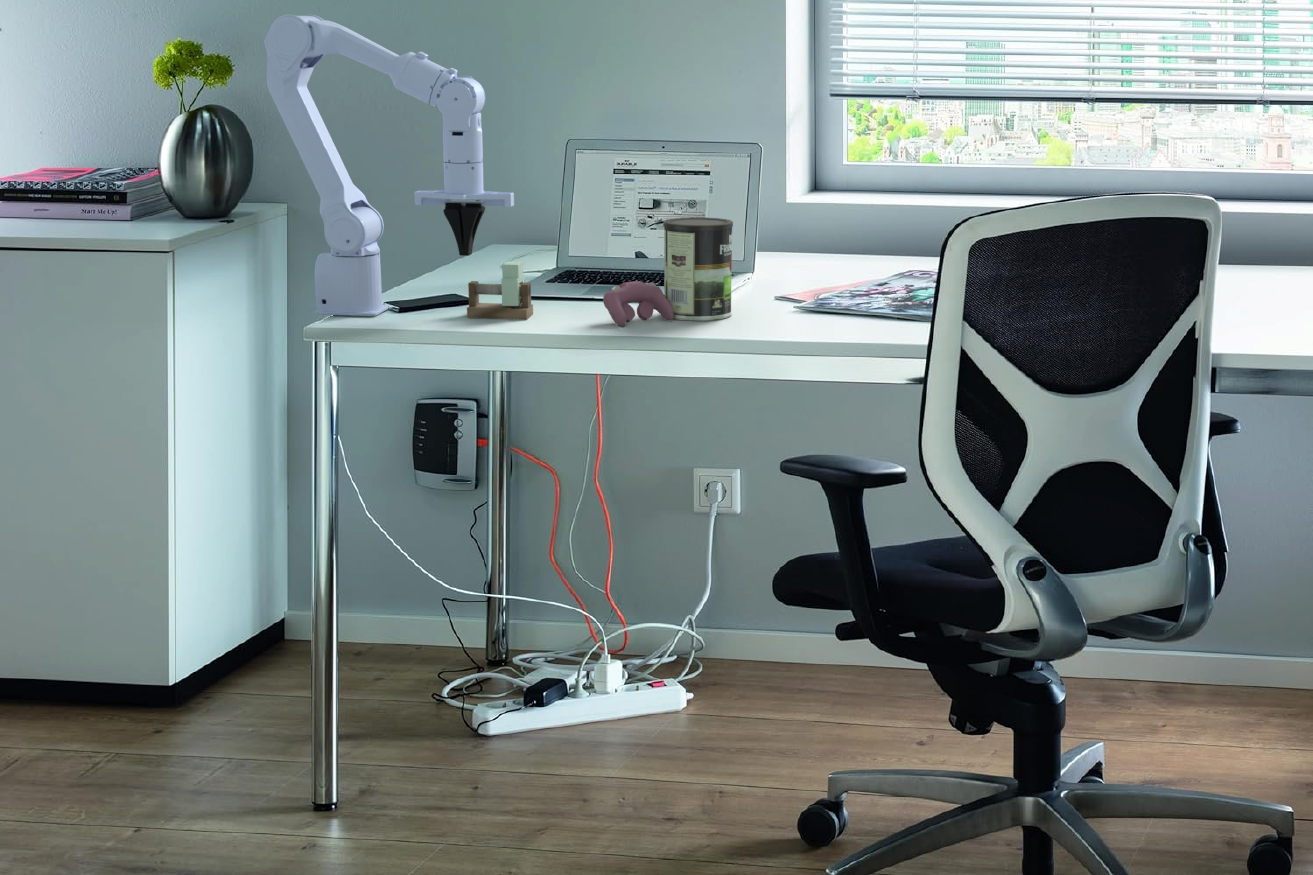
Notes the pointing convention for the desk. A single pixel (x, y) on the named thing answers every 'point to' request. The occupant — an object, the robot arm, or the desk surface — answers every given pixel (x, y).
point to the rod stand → (496, 308)
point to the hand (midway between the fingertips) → (465, 254)
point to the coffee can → (698, 267)
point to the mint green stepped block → (511, 283)
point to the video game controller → (636, 292)
